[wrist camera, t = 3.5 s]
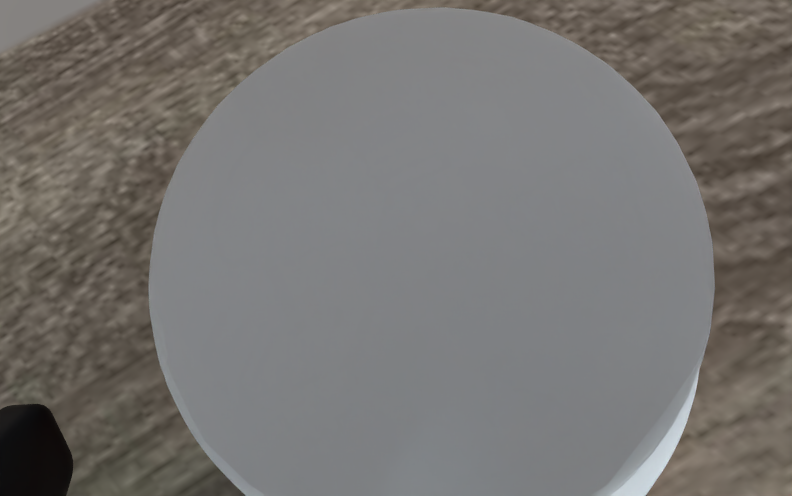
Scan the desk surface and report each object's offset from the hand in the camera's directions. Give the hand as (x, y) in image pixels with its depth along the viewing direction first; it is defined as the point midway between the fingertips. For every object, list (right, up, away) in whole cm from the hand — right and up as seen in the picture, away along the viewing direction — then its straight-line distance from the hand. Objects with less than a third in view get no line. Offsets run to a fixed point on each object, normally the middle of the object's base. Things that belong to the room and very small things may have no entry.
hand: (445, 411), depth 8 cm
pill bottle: (+1, -1, +9) cm, 9 cm away
